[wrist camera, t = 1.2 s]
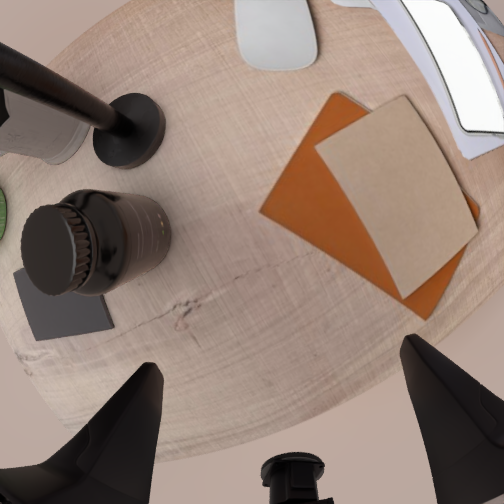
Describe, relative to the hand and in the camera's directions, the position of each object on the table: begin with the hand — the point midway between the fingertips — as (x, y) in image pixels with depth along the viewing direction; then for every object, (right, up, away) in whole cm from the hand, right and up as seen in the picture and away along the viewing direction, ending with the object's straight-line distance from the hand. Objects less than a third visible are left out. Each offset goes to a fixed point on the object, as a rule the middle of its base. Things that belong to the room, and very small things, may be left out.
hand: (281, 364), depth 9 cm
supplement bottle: (-11, +5, +14) cm, 19 cm away
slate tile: (-23, -1, +16) cm, 28 cm away
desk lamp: (-12, +15, +13) cm, 23 cm away
